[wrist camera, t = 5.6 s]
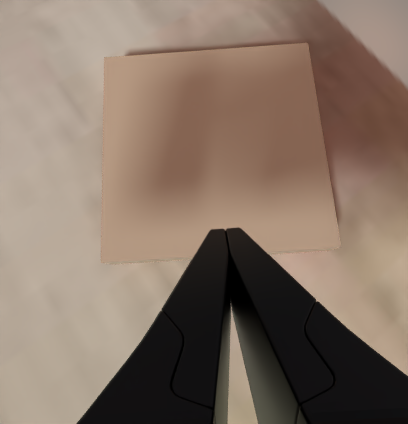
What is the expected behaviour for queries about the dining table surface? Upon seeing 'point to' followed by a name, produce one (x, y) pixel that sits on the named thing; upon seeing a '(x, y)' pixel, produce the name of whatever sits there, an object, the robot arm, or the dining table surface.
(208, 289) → the robot arm
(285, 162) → the tile
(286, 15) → the dining table surface
